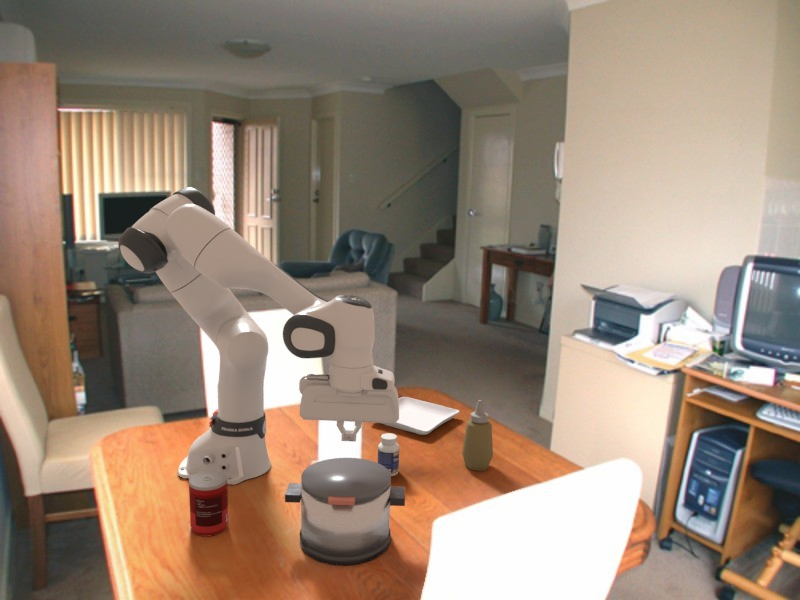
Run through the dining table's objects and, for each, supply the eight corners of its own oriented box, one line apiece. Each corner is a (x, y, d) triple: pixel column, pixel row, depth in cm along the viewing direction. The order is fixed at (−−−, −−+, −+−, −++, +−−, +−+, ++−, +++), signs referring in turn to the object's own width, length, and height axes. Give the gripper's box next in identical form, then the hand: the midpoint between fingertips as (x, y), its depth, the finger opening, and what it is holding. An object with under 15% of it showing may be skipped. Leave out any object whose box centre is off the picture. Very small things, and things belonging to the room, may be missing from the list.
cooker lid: (293, 505, 122) (293, 497, 122) (308, 463, 141) (308, 456, 141) (389, 508, 122) (389, 500, 122) (391, 465, 141) (391, 459, 141)
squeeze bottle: (489, 459, 174) (493, 395, 171) (494, 473, 166) (499, 406, 163) (459, 459, 174) (462, 395, 170) (463, 473, 166) (466, 406, 162)
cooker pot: (278, 563, 126) (278, 506, 123) (295, 511, 145) (295, 460, 143) (403, 567, 126) (405, 510, 123) (403, 515, 145) (405, 464, 142)
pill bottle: (396, 478, 162) (397, 441, 160) (375, 475, 163) (376, 439, 161) (400, 468, 167) (401, 433, 165) (380, 466, 168) (381, 430, 166)
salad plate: (460, 419, 203) (461, 409, 202) (426, 442, 185) (427, 430, 184) (402, 405, 214) (403, 395, 213) (365, 425, 196) (365, 414, 195)
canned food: (213, 513, 143) (212, 466, 141) (236, 526, 138) (235, 478, 136) (182, 527, 137) (180, 478, 135) (204, 541, 132) (203, 491, 130)
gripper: (297, 378, 128) (295, 444, 131) (401, 382, 128) (397, 448, 131) (301, 368, 134) (300, 432, 137) (400, 373, 135) (397, 436, 137)
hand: (348, 440), depth 134 cm, fingers closed
